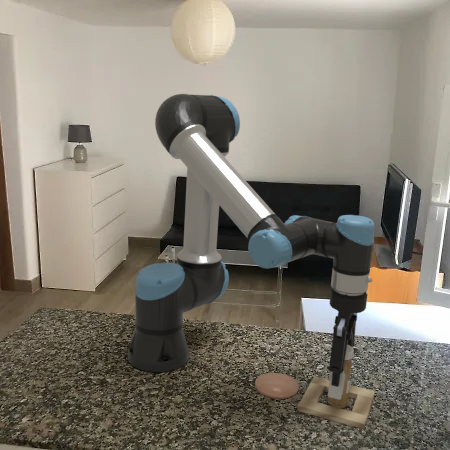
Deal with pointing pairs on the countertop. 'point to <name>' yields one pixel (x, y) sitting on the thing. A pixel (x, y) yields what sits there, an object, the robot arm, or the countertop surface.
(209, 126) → the robot arm
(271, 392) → the coaster
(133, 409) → the countertop surface
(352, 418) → the collar board
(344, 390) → the sprinkles bottle
